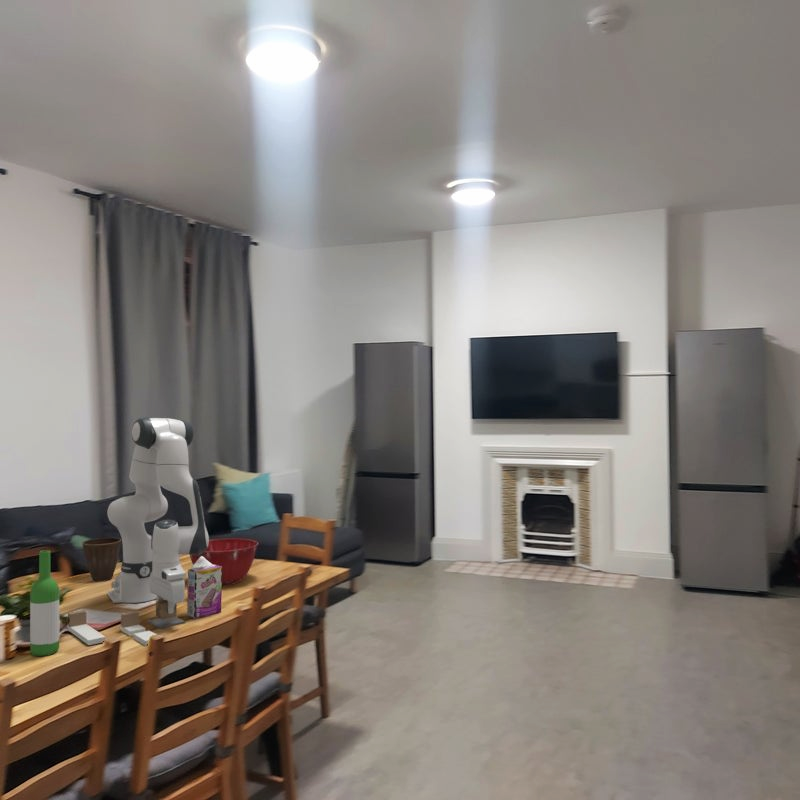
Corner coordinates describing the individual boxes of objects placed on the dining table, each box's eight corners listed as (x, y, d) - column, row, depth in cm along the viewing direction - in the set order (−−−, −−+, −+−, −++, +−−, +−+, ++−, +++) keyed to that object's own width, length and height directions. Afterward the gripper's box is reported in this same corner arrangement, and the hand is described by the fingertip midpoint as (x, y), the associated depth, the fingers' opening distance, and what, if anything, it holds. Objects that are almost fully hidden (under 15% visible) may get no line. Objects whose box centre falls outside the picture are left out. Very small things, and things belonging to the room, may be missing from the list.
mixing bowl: (175, 580, 302) (175, 543, 302) (237, 570, 320) (237, 535, 320) (206, 594, 280) (206, 554, 280) (271, 582, 299) (271, 544, 299)
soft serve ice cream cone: (196, 595, 279) (196, 553, 279) (217, 595, 279) (217, 553, 279) (187, 601, 271) (187, 557, 271) (209, 601, 270) (209, 558, 270)
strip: (67, 629, 236) (67, 612, 236) (83, 626, 239) (83, 609, 239) (88, 645, 221) (88, 627, 221) (105, 641, 224) (105, 623, 224)
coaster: (147, 622, 245) (147, 620, 245) (173, 617, 251) (173, 615, 251) (158, 628, 238) (158, 626, 238) (184, 623, 244) (184, 621, 244)
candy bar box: (195, 619, 248) (195, 571, 248) (186, 617, 251) (186, 569, 251) (222, 612, 257) (222, 565, 257) (213, 609, 260) (213, 563, 260)
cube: (155, 616, 245) (155, 601, 245) (170, 613, 248) (170, 598, 248) (162, 619, 241) (162, 604, 241) (176, 616, 244) (176, 601, 244)
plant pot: (94, 585, 294) (94, 546, 294) (75, 580, 303) (75, 541, 303) (128, 578, 306) (128, 540, 306) (108, 573, 315) (108, 536, 315)
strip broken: (120, 630, 237) (120, 613, 237) (135, 627, 240) (135, 610, 240) (145, 645, 222) (145, 627, 222) (161, 642, 225) (161, 624, 225)
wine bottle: (30, 650, 218) (30, 549, 218) (59, 646, 221) (59, 547, 221) (29, 658, 211) (29, 554, 211) (59, 654, 214) (59, 552, 214)
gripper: (144, 565, 250) (144, 606, 250) (169, 576, 235) (169, 619, 235) (162, 563, 255) (162, 602, 255) (188, 573, 239) (188, 615, 239)
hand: (166, 610), depth 245 cm, fingers closed on cube, 5 cm apart
